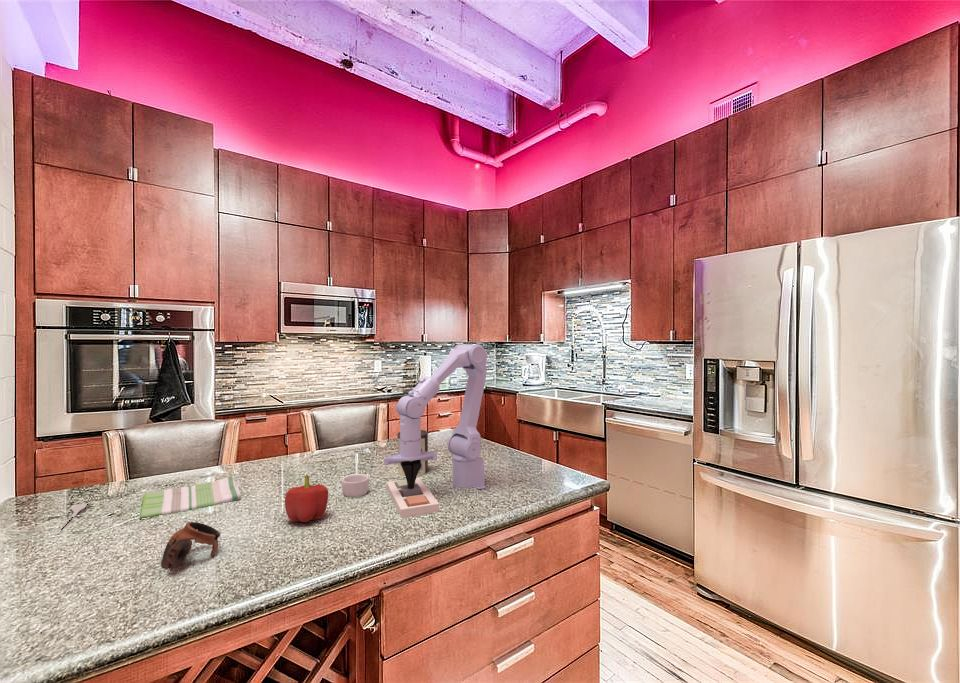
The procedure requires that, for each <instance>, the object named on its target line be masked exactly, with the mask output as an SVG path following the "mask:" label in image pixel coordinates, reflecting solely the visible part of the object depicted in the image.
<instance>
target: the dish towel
mask: <svg viewBox="0 0 960 683" xmlns="http://www.w3.org/2000/svg"><path fill="white" fill-rule="evenodd" d="M241 499H242V494H241V490H240V488H239V487H238V484H237V482H236V481H235V475H231V476H227V477H224V478H221V479H217V480H214V481H209V482H203V483H200V484H199V483H198V484H193V485H192V486H181V487H173V488H168V489H163V490H156V491H152V492H149V493H144V494H143V496H142V505H141V509H140V516H139V520H140V519H142V518H147V517H153V518H155V517H154V516H158V517H160V516H159V515H163V516H166V515H165V514H168V515H172V514H171V513H174V514H178V513H177V512H180V513H182V512H181V511H184V512H188V511H187V510H189V511H192V509H194V510H200V509H203V508H204V507H205V508H210V507H214V505H215V506H218V505H222V504H223V503H224V504H227V503H231V502H236V501H239V500H241ZM209 506H210V507H209ZM199 508H200V509H199ZM142 520H143V519H142Z"/></svg>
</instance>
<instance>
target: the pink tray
mask: <svg viewBox="0 0 960 683" xmlns="http://www.w3.org/2000/svg"><path fill="white" fill-rule="evenodd" d="M399 480H400V479H399ZM399 480H389V481H386V483H385V484H386V486H385V487H386V490H387V493H388V496H389V497H390V498H391V501H392V503H393V504H394V507H395V509H396V510H397V513H398V515H399V517H400V518H401V519H404V518H408V517H414V516H420V515H426V514H433V513H437V512H440V503H439V502H438V499H436V498H435V496H434V495H433V494H432V493H431V491H430V490H429V489H428V487H427V486H426V484H424V482H423V480H422V479H421V478H420V477H416V480H415V484H418V485H419V487H420V488H421V495H424V496H425V498H426V499H427V501H428V504H424V505H418V506H411V507H408V506H407V505H406V497H402V496H401V488H400V489H397V487H396V481H399ZM404 480H406V478H405V479H404ZM415 496H418V495H415ZM409 497H412V496H409Z"/></svg>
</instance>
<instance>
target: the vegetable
mask: <svg viewBox="0 0 960 683" xmlns="http://www.w3.org/2000/svg"><path fill="white" fill-rule="evenodd" d="M328 502H329V490H328V488H327V487H326V486H325V485H322V484H320V483H318V484H315V485H311V484H310V477H309V475H304V485H302V486H297V487H295V486H293V487H291V488H290V489H288V490H287V492H286V493H285V496H284V508H285V512H286V515H287V517H288V519H289V520H290V521H291V522H294V523H297V522H301V523H305V522H306V523H307V522H309V521H312V520H313V521H314V520H319V519H321V518H322V517H323V516H324V514H325V512H326V510H327V507H328Z"/></svg>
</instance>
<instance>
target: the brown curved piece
mask: <svg viewBox="0 0 960 683" xmlns="http://www.w3.org/2000/svg"><path fill="white" fill-rule="evenodd" d="M220 536H221V533H220V531H219V530H217V529H216V528H214V527H212V526H210V525H208V524H204V523H201V522H196V521H190V522H187V523H186V524H185V525H184V527H183V528H181V529H178V530H177V531H176V532H174V533H173V535H172V536H170V538H169V539H168V542H167V543H166V545H165V548H164V551H163V554H162V558H161V561H160V564H161V566H162V567H163V568H165V569H166V570H169V569H170V568H171V565H172V566H173V567H181V566H183V565H184V563H185V560H186V557H187V555H188V554H189V553H190V551H191V550H192V547H193V546H192V545H193V540H194V543H196V544H202V545H204V544H206V545H209V546H212V548H211V551H210V557H212V556H213V557H214V556H215V555H216V553H217V550H218V549H219V540H218V539H219V537H220ZM168 568H169V569H168Z"/></svg>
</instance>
